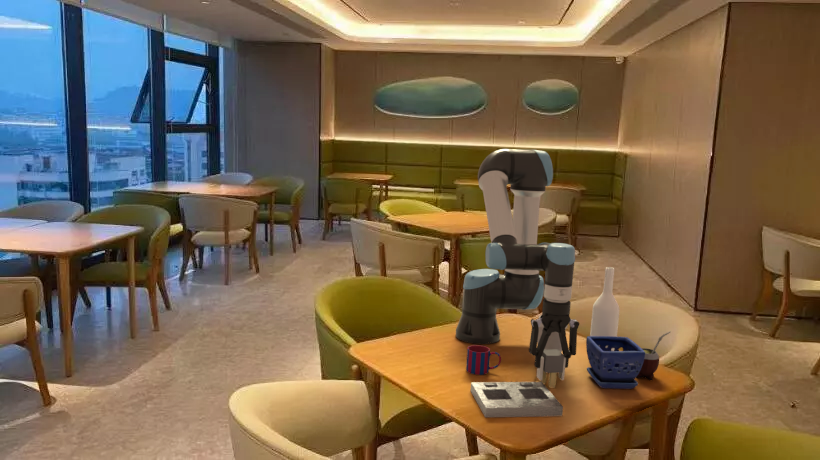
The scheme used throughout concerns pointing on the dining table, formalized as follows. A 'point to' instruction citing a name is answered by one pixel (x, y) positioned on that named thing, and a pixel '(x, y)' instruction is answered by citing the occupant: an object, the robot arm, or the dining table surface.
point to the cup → (479, 359)
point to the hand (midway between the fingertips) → (550, 378)
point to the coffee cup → (551, 339)
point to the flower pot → (614, 361)
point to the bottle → (605, 310)
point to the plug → (552, 365)
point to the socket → (515, 399)
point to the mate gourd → (650, 361)
